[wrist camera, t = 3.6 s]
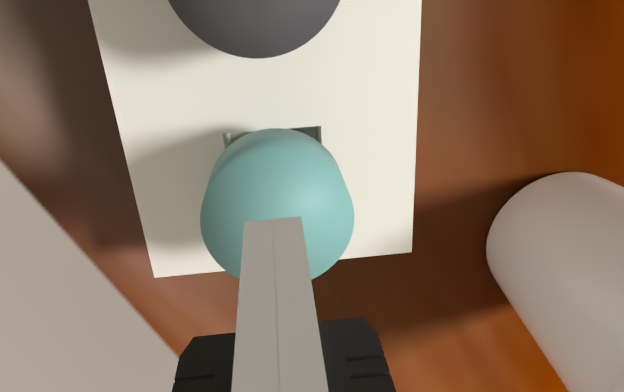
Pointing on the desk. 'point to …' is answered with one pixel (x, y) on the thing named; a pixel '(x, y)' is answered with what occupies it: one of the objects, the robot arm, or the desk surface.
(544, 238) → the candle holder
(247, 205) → the knob
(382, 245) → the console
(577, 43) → the desk surface
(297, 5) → the knob mid
